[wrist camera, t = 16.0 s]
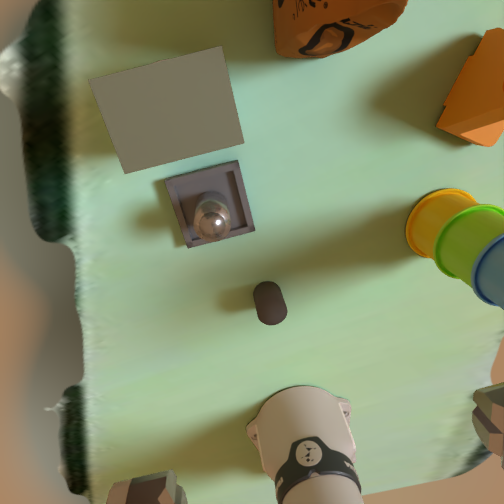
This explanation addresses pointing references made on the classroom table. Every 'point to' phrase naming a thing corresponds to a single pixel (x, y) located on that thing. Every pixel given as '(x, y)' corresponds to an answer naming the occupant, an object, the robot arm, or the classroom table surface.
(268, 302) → the cylinder
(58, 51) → the classroom table surface
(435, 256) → the stacking cups
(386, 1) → the coffee package
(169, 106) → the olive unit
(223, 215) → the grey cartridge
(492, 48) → the bracket
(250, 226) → the tray
